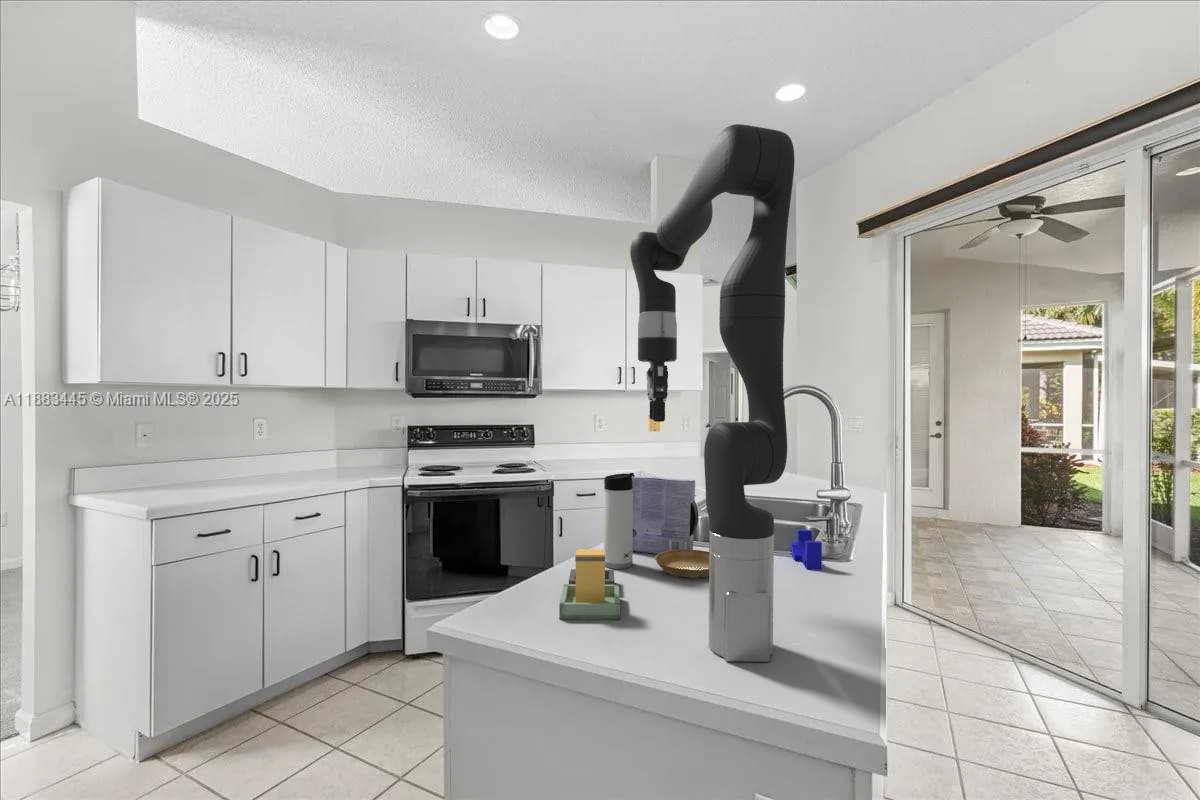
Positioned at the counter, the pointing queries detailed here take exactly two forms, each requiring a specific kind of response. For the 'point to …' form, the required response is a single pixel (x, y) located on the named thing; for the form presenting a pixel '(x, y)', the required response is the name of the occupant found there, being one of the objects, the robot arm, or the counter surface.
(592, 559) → the block
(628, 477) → the travel mug
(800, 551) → the cable clip
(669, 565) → the plant saucer
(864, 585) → the counter surface
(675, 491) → the cake pan box
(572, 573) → the frame
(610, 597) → the parts tray
